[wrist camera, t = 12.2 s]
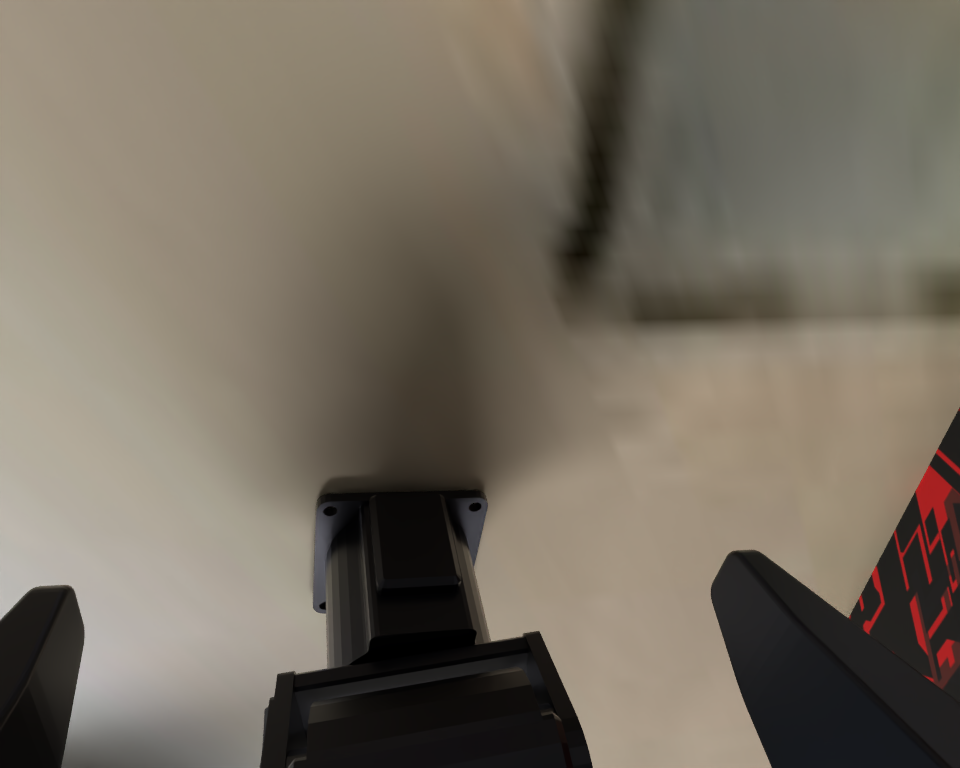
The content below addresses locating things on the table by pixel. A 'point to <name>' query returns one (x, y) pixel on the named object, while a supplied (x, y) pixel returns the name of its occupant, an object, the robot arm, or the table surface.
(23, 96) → the table surface
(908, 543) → the box
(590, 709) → the table surface
